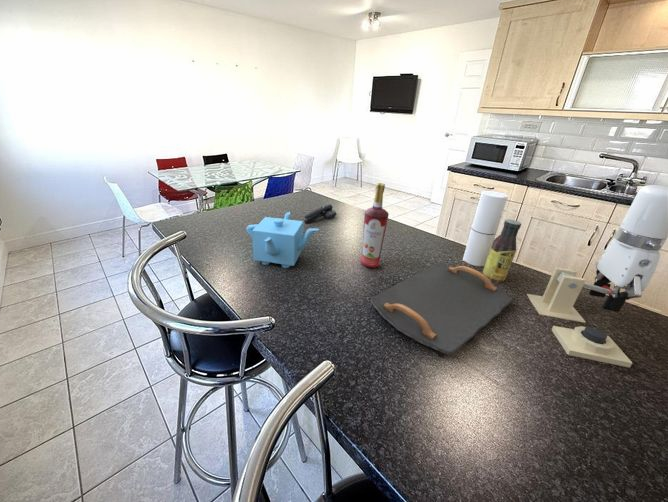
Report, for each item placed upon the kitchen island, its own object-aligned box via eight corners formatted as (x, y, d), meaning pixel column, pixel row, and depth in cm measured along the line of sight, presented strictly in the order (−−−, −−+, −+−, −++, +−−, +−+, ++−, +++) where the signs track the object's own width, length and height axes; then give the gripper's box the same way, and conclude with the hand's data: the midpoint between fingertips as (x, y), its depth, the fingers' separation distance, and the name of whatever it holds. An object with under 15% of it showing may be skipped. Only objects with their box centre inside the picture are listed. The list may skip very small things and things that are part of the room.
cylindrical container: (457, 259, 104) (476, 191, 94) (473, 256, 106) (493, 189, 96) (474, 269, 98) (495, 198, 88) (490, 266, 100) (513, 196, 90)
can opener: (327, 212, 143) (328, 201, 141) (337, 216, 138) (338, 205, 136) (299, 221, 133) (299, 209, 131) (309, 226, 128) (309, 214, 126)
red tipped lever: (604, 291, 76) (610, 284, 75) (616, 303, 72) (623, 295, 71) (554, 276, 78) (559, 269, 77) (563, 286, 74) (569, 279, 73)
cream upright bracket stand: (566, 304, 82) (583, 268, 77) (584, 325, 74) (604, 287, 70) (525, 297, 85) (539, 261, 80) (538, 317, 77) (555, 279, 72)
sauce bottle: (492, 286, 89) (513, 227, 81) (476, 275, 95) (494, 218, 86) (509, 283, 91) (531, 225, 83) (492, 273, 96) (511, 216, 88)
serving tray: (440, 267, 99) (444, 250, 96) (517, 303, 82) (524, 284, 80) (360, 310, 78) (362, 291, 75) (442, 371, 61) (449, 349, 58)
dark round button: (597, 334, 67) (601, 328, 66) (607, 346, 64) (611, 340, 63) (578, 330, 68) (581, 324, 67) (587, 342, 64) (591, 336, 64)
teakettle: (244, 253, 104) (241, 215, 98) (290, 242, 113) (290, 206, 107) (267, 280, 90) (266, 237, 84) (318, 264, 99) (319, 224, 93)
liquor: (357, 268, 97) (366, 186, 86) (360, 257, 104) (369, 180, 92) (380, 272, 95) (392, 188, 84) (381, 261, 102) (393, 182, 90)
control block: (604, 343, 69) (612, 330, 68) (627, 370, 62) (637, 356, 60) (550, 332, 72) (556, 319, 70) (566, 357, 65) (573, 344, 63)
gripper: (691, 259, 59) (645, 328, 67) (632, 227, 74) (600, 286, 82) (645, 253, 61) (605, 321, 69) (597, 223, 76) (568, 281, 84)
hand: (603, 301), depth 75 cm, fingers closed on red tipped lever, 5 cm apart
